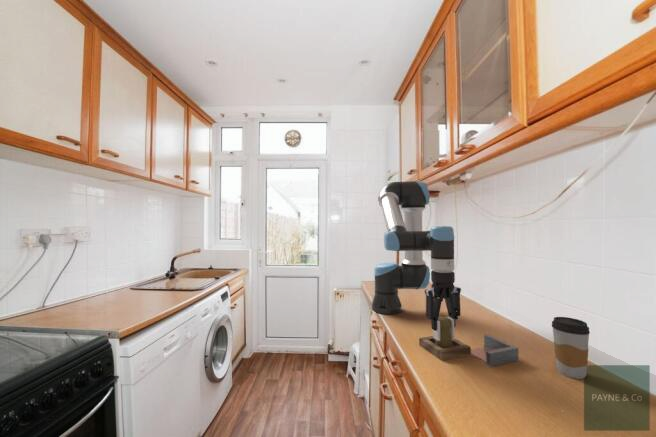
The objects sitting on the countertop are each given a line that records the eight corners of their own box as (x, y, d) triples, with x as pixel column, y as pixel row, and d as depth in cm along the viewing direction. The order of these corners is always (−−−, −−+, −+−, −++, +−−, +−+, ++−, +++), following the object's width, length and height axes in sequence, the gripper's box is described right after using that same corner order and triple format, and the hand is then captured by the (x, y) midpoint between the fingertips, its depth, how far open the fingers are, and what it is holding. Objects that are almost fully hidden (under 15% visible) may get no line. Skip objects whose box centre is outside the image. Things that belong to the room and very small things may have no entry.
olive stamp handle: (455, 354, 92) (455, 321, 92) (436, 352, 93) (435, 320, 93) (451, 346, 97) (450, 315, 98) (433, 345, 99) (432, 314, 99)
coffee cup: (592, 373, 79) (590, 321, 80) (590, 385, 74) (588, 328, 74) (555, 363, 85) (553, 314, 86) (550, 373, 80) (549, 321, 80)
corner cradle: (461, 350, 94) (461, 338, 94) (487, 345, 98) (487, 334, 98) (490, 366, 83) (490, 353, 84) (518, 360, 87) (518, 348, 87)
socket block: (419, 345, 99) (419, 337, 99) (445, 340, 102) (445, 333, 102) (442, 360, 88) (441, 352, 88) (470, 354, 91) (470, 346, 91)
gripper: (427, 274, 89) (428, 346, 89) (472, 270, 95) (473, 338, 94) (413, 270, 96) (414, 337, 96) (455, 267, 102) (456, 330, 102)
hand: (443, 337), depth 95 cm, fingers closed on olive stamp handle, 5 cm apart
